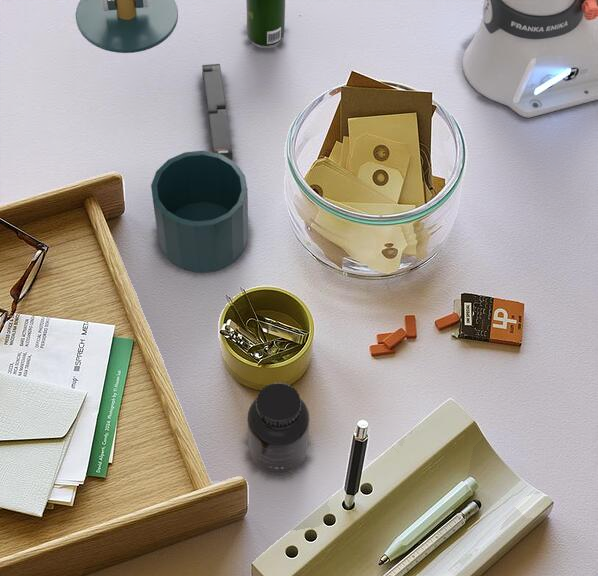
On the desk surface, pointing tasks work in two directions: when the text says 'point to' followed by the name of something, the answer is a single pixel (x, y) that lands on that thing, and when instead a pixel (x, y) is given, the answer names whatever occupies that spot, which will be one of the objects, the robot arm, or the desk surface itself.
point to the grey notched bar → (216, 110)
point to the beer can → (265, 22)
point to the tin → (201, 210)
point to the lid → (126, 24)
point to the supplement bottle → (278, 429)
